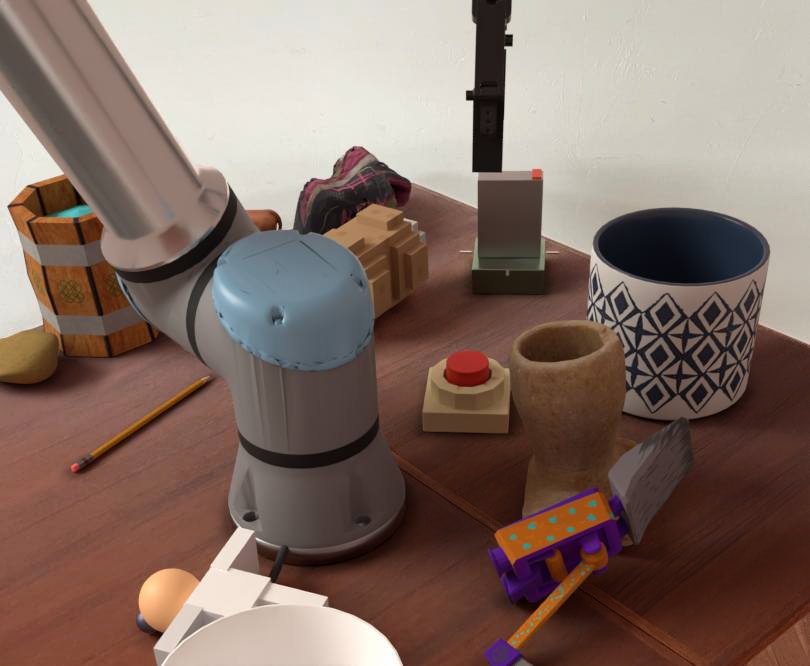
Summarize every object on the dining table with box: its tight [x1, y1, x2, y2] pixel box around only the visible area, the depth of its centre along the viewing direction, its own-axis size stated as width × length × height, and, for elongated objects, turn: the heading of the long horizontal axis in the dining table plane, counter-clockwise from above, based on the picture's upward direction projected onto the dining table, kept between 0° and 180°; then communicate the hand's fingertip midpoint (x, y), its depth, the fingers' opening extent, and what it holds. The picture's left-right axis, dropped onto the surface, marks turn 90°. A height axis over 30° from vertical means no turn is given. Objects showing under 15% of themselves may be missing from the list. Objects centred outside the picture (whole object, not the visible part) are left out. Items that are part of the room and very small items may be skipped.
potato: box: [0, 329, 59, 385], centre depth 116 cm, size 7×8×8 cm
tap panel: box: [458, 236, 560, 295], centre depth 128 cm, size 11×11×3 cm
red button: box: [446, 350, 489, 387], centre depth 106 cm, size 4×4×2 cm
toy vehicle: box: [483, 417, 696, 666], centre depth 83 cm, size 9×21×15 cm
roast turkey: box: [323, 204, 430, 320], centre depth 121 cm, size 10×18×10 cm, turn 145°
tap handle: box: [477, 168, 544, 258], centre depth 124 cm, size 7×2×9 cm, turn 85°
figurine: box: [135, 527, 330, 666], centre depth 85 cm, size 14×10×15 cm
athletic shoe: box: [292, 145, 412, 235], centre depth 135 cm, size 11×22×12 cm
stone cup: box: [507, 319, 639, 548], centre depth 93 cm, size 15×12×15 cm
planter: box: [585, 206, 771, 421], centre depth 107 cm, size 16×16×14 cm
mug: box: [6, 173, 161, 358], centre depth 120 cm, size 20×14×15 cm
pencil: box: [70, 374, 212, 473], centre depth 109 cm, size 19×1×1 cm, turn 145°
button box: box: [421, 356, 511, 434], centre depth 108 cm, size 8×8×4 cm
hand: (488, 143), depth 107 cm, fingers open, 13 cm apart
